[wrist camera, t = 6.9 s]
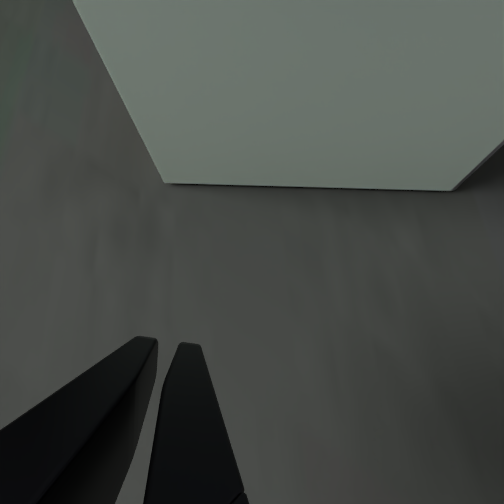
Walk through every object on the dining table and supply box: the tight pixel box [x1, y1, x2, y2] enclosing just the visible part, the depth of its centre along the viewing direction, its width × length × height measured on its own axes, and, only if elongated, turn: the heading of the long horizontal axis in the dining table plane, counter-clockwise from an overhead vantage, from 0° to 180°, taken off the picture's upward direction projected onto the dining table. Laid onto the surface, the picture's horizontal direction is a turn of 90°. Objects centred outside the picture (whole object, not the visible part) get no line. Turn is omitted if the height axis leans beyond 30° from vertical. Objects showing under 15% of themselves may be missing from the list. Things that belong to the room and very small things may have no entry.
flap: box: [72, 0, 504, 191], centre depth 16 cm, size 1×16×12 cm, turn 88°
